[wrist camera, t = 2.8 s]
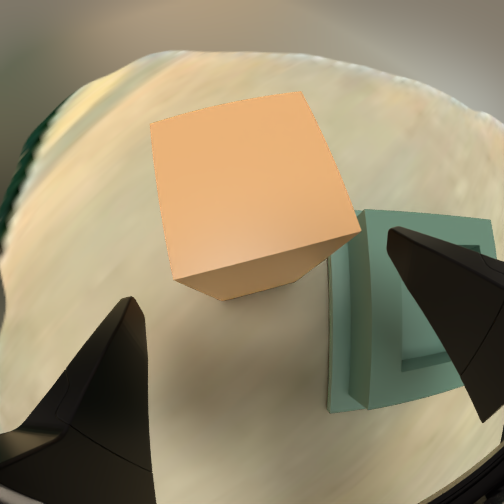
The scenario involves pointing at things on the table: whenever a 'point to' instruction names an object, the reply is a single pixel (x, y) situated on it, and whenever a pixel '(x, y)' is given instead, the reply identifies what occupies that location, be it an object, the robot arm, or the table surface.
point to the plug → (248, 195)
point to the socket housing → (388, 315)
